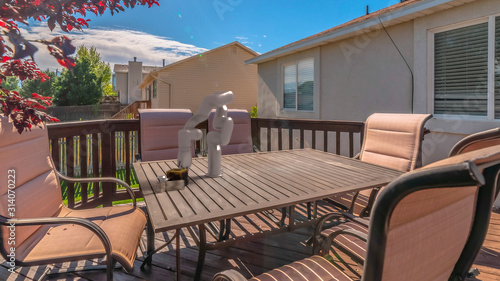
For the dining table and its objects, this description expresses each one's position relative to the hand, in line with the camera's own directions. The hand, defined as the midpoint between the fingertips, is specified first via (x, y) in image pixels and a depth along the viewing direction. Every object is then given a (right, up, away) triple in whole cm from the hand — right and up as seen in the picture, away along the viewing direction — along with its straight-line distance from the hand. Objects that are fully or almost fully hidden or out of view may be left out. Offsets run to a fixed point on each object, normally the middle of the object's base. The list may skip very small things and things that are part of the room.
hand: (185, 177), depth 184 cm
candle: (-3, -5, -7) cm, 9 cm away
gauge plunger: (-8, 0, -18) cm, 19 cm away
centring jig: (-7, -5, -16) cm, 19 cm away
